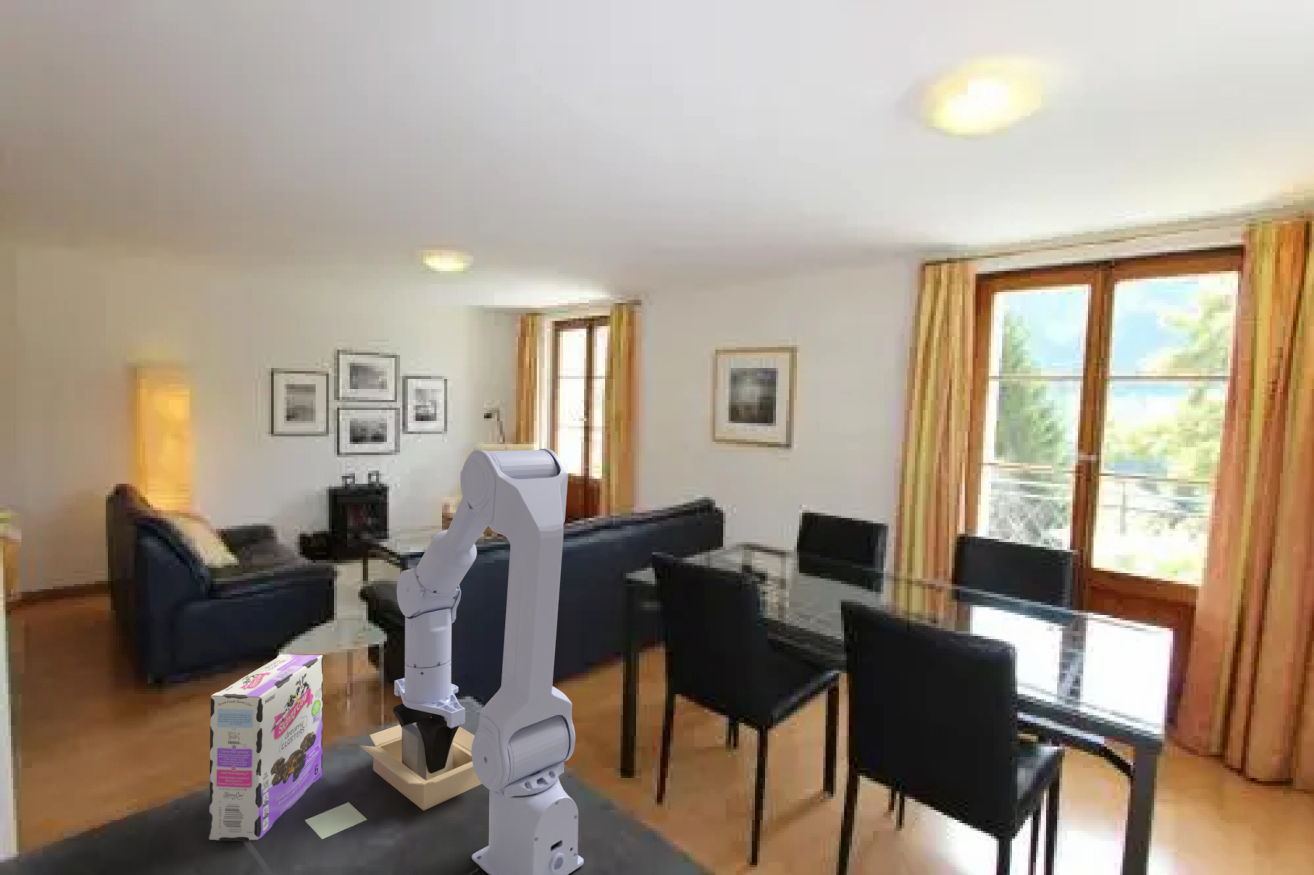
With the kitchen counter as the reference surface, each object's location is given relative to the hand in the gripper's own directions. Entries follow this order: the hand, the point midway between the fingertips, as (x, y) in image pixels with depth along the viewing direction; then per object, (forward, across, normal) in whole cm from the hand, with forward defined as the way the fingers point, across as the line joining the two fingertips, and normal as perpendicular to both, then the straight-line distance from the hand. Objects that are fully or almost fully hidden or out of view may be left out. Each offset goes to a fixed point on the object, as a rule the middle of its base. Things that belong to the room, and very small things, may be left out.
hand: (427, 763), depth 86 cm
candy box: (+2, +8, +16) cm, 18 cm away
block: (+2, 0, 0) cm, 2 cm away
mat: (+2, -1, +12) cm, 12 cm away
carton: (+2, 0, 0) cm, 2 cm away
